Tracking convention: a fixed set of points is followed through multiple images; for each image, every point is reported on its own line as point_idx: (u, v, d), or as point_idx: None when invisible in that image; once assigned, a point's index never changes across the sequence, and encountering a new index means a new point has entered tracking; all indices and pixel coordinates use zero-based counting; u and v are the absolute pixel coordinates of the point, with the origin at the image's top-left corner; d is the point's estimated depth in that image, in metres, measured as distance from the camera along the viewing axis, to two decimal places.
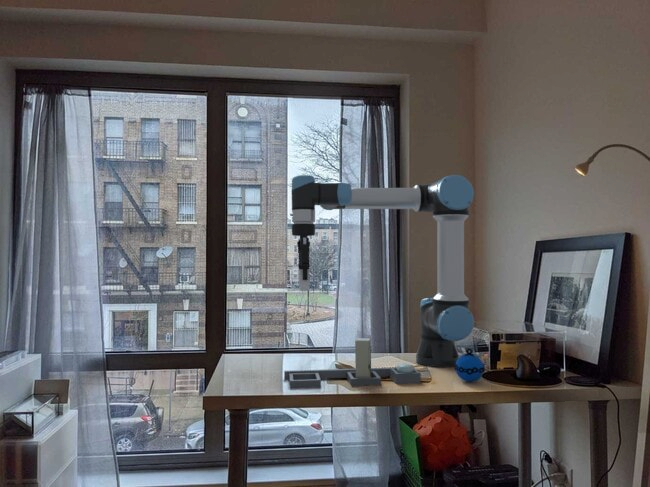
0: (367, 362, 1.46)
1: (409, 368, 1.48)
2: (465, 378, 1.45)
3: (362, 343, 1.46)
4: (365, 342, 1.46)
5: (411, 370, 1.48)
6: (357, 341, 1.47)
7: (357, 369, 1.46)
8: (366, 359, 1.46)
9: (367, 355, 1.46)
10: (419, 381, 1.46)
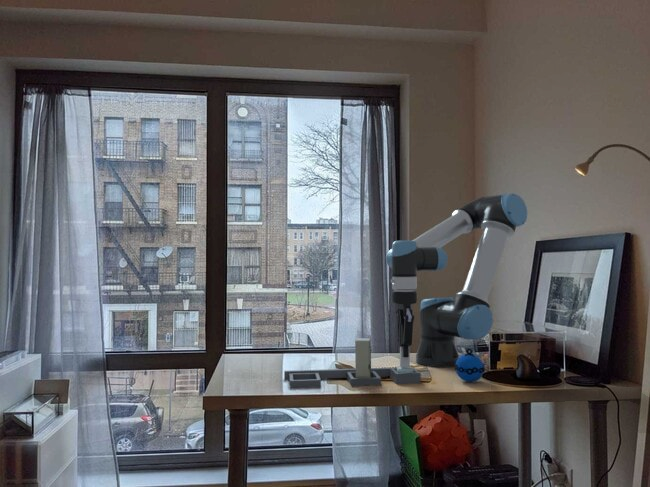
0: (367, 362, 1.46)
1: (409, 370, 1.48)
2: (465, 378, 1.45)
3: (362, 343, 1.46)
4: (365, 342, 1.46)
5: (411, 372, 1.48)
6: (357, 341, 1.47)
7: (357, 369, 1.46)
8: (366, 359, 1.46)
9: (367, 355, 1.46)
10: (419, 381, 1.46)
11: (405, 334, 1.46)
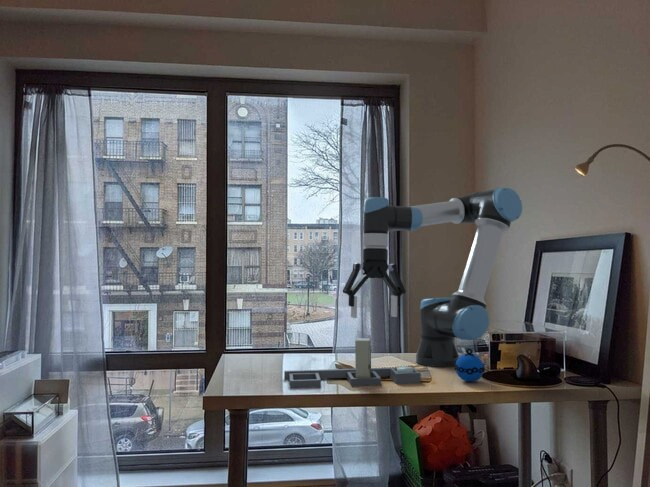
0: (367, 362, 1.46)
1: (409, 370, 1.48)
2: (465, 378, 1.45)
3: (362, 343, 1.46)
4: (365, 342, 1.46)
5: None
6: (357, 341, 1.47)
7: (357, 369, 1.46)
8: (366, 359, 1.46)
9: (367, 355, 1.46)
10: (419, 381, 1.46)
11: (347, 281, 1.47)
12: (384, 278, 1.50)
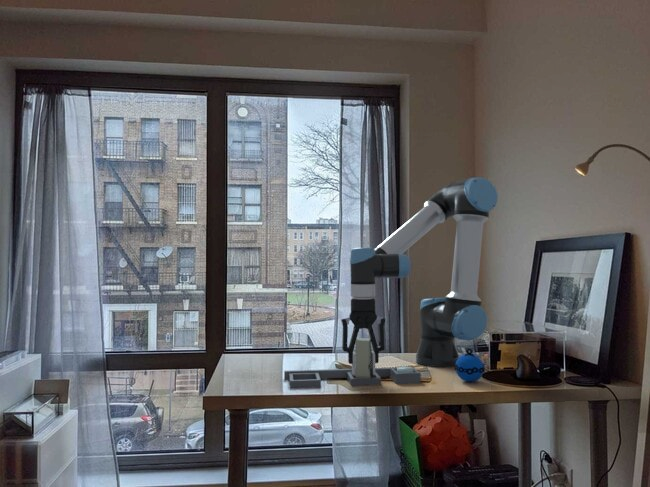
0: (367, 362, 1.46)
1: (409, 370, 1.48)
2: (465, 378, 1.45)
3: (362, 343, 1.46)
4: (365, 342, 1.46)
5: None
6: (357, 341, 1.47)
7: (357, 369, 1.46)
8: (366, 359, 1.46)
9: (367, 355, 1.46)
10: (419, 381, 1.46)
11: (342, 337, 1.49)
12: (368, 330, 1.48)
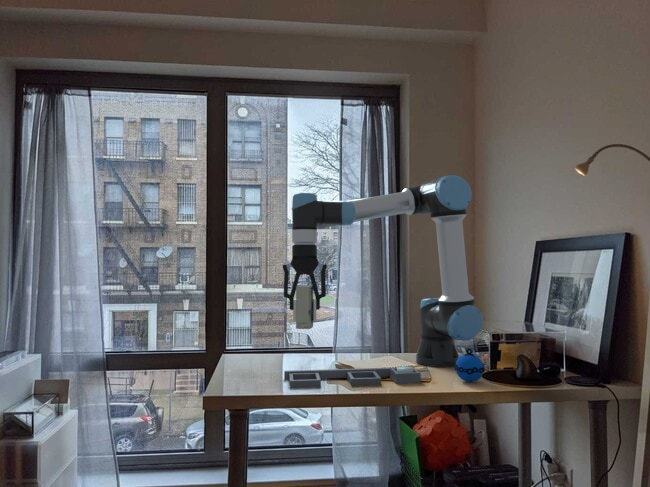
0: (307, 308, 1.44)
1: (409, 370, 1.48)
2: (465, 378, 1.45)
3: (303, 289, 1.45)
4: (306, 288, 1.45)
5: None
6: (298, 287, 1.45)
7: (297, 315, 1.45)
8: (306, 305, 1.45)
9: (307, 301, 1.45)
10: (419, 381, 1.46)
11: None
12: (310, 276, 1.47)
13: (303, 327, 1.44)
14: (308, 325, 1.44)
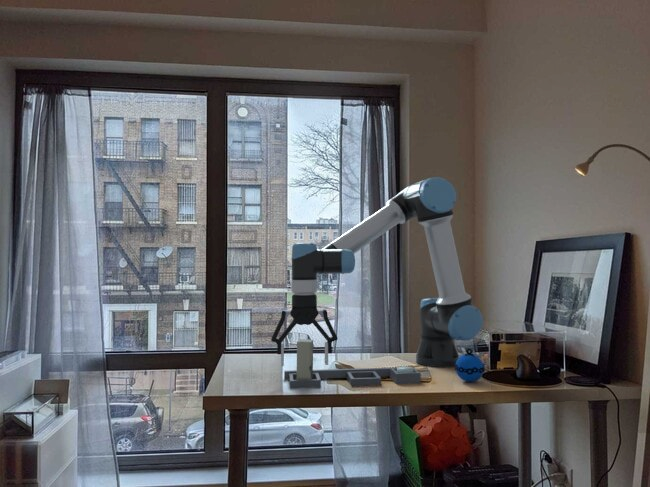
0: (308, 363, 1.44)
1: (409, 370, 1.48)
2: (465, 378, 1.45)
3: (304, 344, 1.45)
4: (307, 343, 1.45)
5: None
6: (299, 342, 1.45)
7: (298, 371, 1.44)
8: (307, 360, 1.44)
9: (308, 356, 1.44)
10: (419, 381, 1.46)
11: (276, 328, 1.47)
12: (314, 325, 1.47)
13: None
14: None
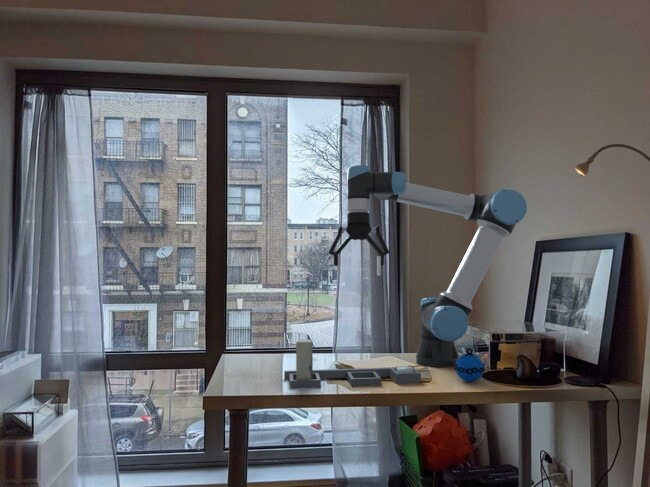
0: (308, 364, 1.44)
1: (409, 370, 1.48)
2: (465, 378, 1.45)
3: (303, 344, 1.45)
4: (306, 343, 1.45)
5: None
6: (298, 342, 1.45)
7: (298, 371, 1.44)
8: (307, 361, 1.44)
9: (308, 356, 1.44)
10: (419, 381, 1.46)
11: (332, 243, 1.63)
12: (367, 240, 1.62)
13: None
14: None
